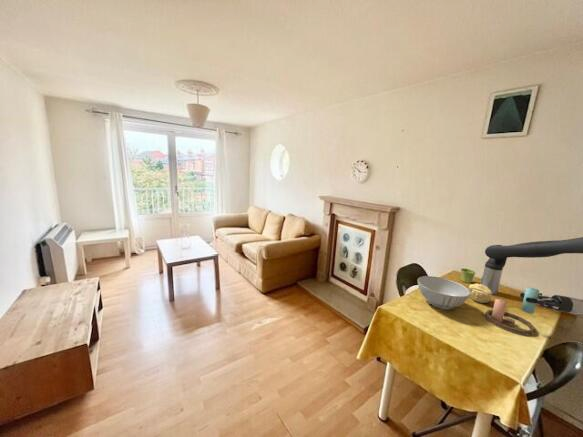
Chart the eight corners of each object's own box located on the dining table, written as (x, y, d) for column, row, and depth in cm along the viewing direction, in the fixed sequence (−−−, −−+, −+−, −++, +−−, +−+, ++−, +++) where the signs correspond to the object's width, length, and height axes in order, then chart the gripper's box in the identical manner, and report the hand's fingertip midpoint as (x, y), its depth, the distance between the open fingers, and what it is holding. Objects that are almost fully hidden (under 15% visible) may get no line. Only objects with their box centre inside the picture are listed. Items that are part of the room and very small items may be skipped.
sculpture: (464, 298, 150) (467, 283, 148) (470, 294, 157) (473, 279, 155) (487, 307, 141) (490, 290, 139) (492, 301, 148) (496, 285, 146)
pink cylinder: (489, 320, 127) (494, 300, 125) (492, 318, 129) (496, 298, 127) (500, 325, 123) (505, 304, 121) (503, 322, 126) (507, 301, 124)
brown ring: (480, 319, 128) (480, 315, 127) (491, 309, 138) (492, 306, 138) (528, 339, 112) (529, 336, 112) (537, 327, 123) (538, 323, 123)
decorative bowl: (459, 322, 123) (463, 301, 121) (407, 301, 143) (410, 282, 141) (472, 306, 141) (475, 287, 139) (424, 289, 160) (426, 272, 158)
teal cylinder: (520, 310, 120) (525, 288, 118) (522, 307, 123) (527, 286, 121) (532, 314, 116) (538, 292, 114) (534, 311, 119) (540, 290, 117)
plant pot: (470, 280, 180) (473, 269, 178) (476, 285, 171) (478, 274, 170) (456, 278, 183) (458, 267, 181) (461, 282, 174) (463, 271, 173)
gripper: (559, 291, 120) (517, 284, 125) (581, 304, 106) (533, 296, 112) (555, 304, 121) (514, 297, 127) (577, 319, 108) (530, 311, 113)
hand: (523, 297), depth 119 cm, fingers closed on teal cylinder, 4 cm apart
